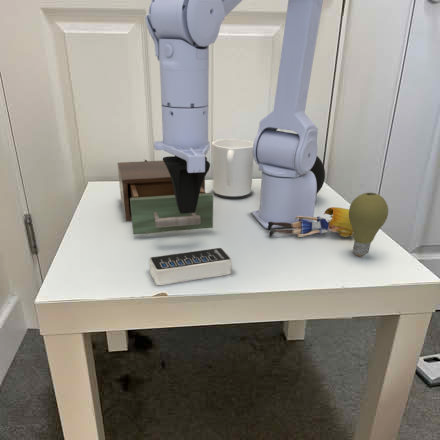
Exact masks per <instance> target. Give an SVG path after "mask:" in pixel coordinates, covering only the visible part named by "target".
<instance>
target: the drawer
mask: <svg viewBox="0 0 440 440" xmlns="http://www.w3.org/2000/svg"><path fill="white" fill-rule="evenodd" d="M129 185H130V197H131V198H130V204H131V216H132V221H131V227H132V234H133V235H142V234H156V233H169V232H179V231H189V230H190V231H191V230H192V231H193V230H202V229H203V230H204V229H213V228H214V193H212V192H206V190H205V191H204V189H203V188H202V187H201V189H200V193H199V198H198V203H197V207H196V211H195V213H183V214H181V213H180V212H179V209H178V206H177V203H176V198H175V193H174V188H173V184H172V181H166V182H148V183H131V184H129Z"/></svg>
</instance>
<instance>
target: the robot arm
mask: <svg viewBox="0 0 440 440" xmlns="http://www.w3.org/2000/svg"><path fill="white" fill-rule="evenodd" d="M242 2H243V0H151V1H150V4H149V7H148V14H146V15H145V23H146V28H147V30H148V33H149V35H150V37H151V38H152V40H153V43H154V52H155V53H154V54H155V57H156V59H157V61H158V62H159V79H160V101H161V102H160V104H161V106H160V107H161V124H162V127H161V128H162V140H157V141H153V149H154V150H155V151H163V152H166V153H168V154H169V155H171V156H164V157H162V161H164V163H165V165H166V167H167V169H168V171H169V174H170V177H171V180H172V184H173V188H174V193H175V198H176V203H177V206H178V209H179V212H180V213H181V214H183V213H195V211H196V207H197V203H198V198H199V193H200V189H201V185H202V182H203V180H204V178H205V179H206V176H207V174H208V172H209V170H210V168H211V163H210V162H209V160H208V158H207V154H208V153H209V151H210V149H211V145H210V144H211V143H210V141H209V74H210V73H209V71H210V70H209V69H210V68H209V67H210V63H209V62H210V45H211V44H214V43H215V42H216V40H217V39H218V36H219V33H220V30H221V25H222V22H224V21H225V17H226V16H228V15H229V14H230V13H231V12H232V11H233V10H234V9H235V8H237V6H238V5H239V4H240V3H242ZM323 3H324V0H288V2H287V8H286V16H285V23H284V29H283V38H282V44H281V53H280V60H279V67H278V73H277V74H278V75H277V82H276V89H275V95H274V96H275V97H274V104H273V110H272V111H270V113H268V114H267V115H266V116H264V117H263V118H262V119H261V120H259V122H258V128H257V132H256V136H255V138H254V140H253V142H254V144H253V157H254V162H255V164H256V165H258V171H261V181H260V182H261V183H260V197H259V210H252V211H251V215H252V216H253V217H254V218H255V220H257V221H258V223H260V225H261V226H262V227H263V228H264V229H266V230H268V222H286V223H294V222H298V220H299V219H300V218H297V219H296V220H295V218H296V217H297V216H309V217H314V215H315V206H316V201H317V200H316V199H317V194H318V193H317V182H316V178H315V175H314V174H313V172H311V171H309V170H310V169H311V168H312V167H313V165H314V163H315V160H316V157H317V156H318V130H319V128H318V126H317V125H316V124H315V123H314V122H313V120H312V119H311V118H310V117H309V116H308V115H307V113H306V107H307V103H308V102H307V100H308V94H309V89H310V84H311V83H310V82H311V77H312V71H313V64H314V57H315V52H316V46H317V39H318V33H319V27H320V22H321V14H322V9H323ZM278 129H279V130H278ZM283 130H285V131H283ZM288 131H292V132H288ZM316 193H317V194H316ZM302 220H306V221H309V222H311V221H313V222H315V220H309V219H305V218H304V219H302ZM280 228H284V227H283V226H278V225H273V226H272V227H271V229H280Z"/></svg>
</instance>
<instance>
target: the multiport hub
mask: <svg viewBox="0 0 440 440" xmlns="http://www.w3.org/2000/svg"><path fill="white" fill-rule="evenodd" d="M148 259H149V273H150V275H151V277H152V279H153V281H154V283H155V285H156V286H165V285H171V284H178V283H183V282H184V283H185V282H191V281H197V280H203V279H208V278H210V279H211V278H216V277H222V276H227V275H231V274H232V258H231V257H230V255H229V254H228V253H227V252H226V251H225V250H224V249H223V248H222V247H216V248H207V249H202V250H193V251H185V252H179V253H172V254H165V255H157V256H151V257H149V258H148Z"/></svg>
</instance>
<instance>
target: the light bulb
mask: <svg viewBox="0 0 440 440" xmlns="http://www.w3.org/2000/svg"><path fill="white" fill-rule="evenodd" d="M349 205H350V206H349V208H348V209H349V219H350V223H351V226H352V229H353V233H352V236H353V241H354V242H353V247H352V252H353V253H354V254H355V255H356V256H357V257H362V258H363V257H364V256H366V255H368V254H369V252H370V247H371V243H372V242H373V241H374V239H375V237H376V235H377V233H378V232H379V230H380V229H381V228H382V227H383V226H384V224H385V223H386V221H387V219H388V216H389V206H388V204H387V200H385V198H384V197H382V196H381V195H380V194H378V193H375V192H364V193H361V194H359V195H357V196H356V197H355V198H354V199H353V200H352V202H351V203H350V204H349Z"/></svg>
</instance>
